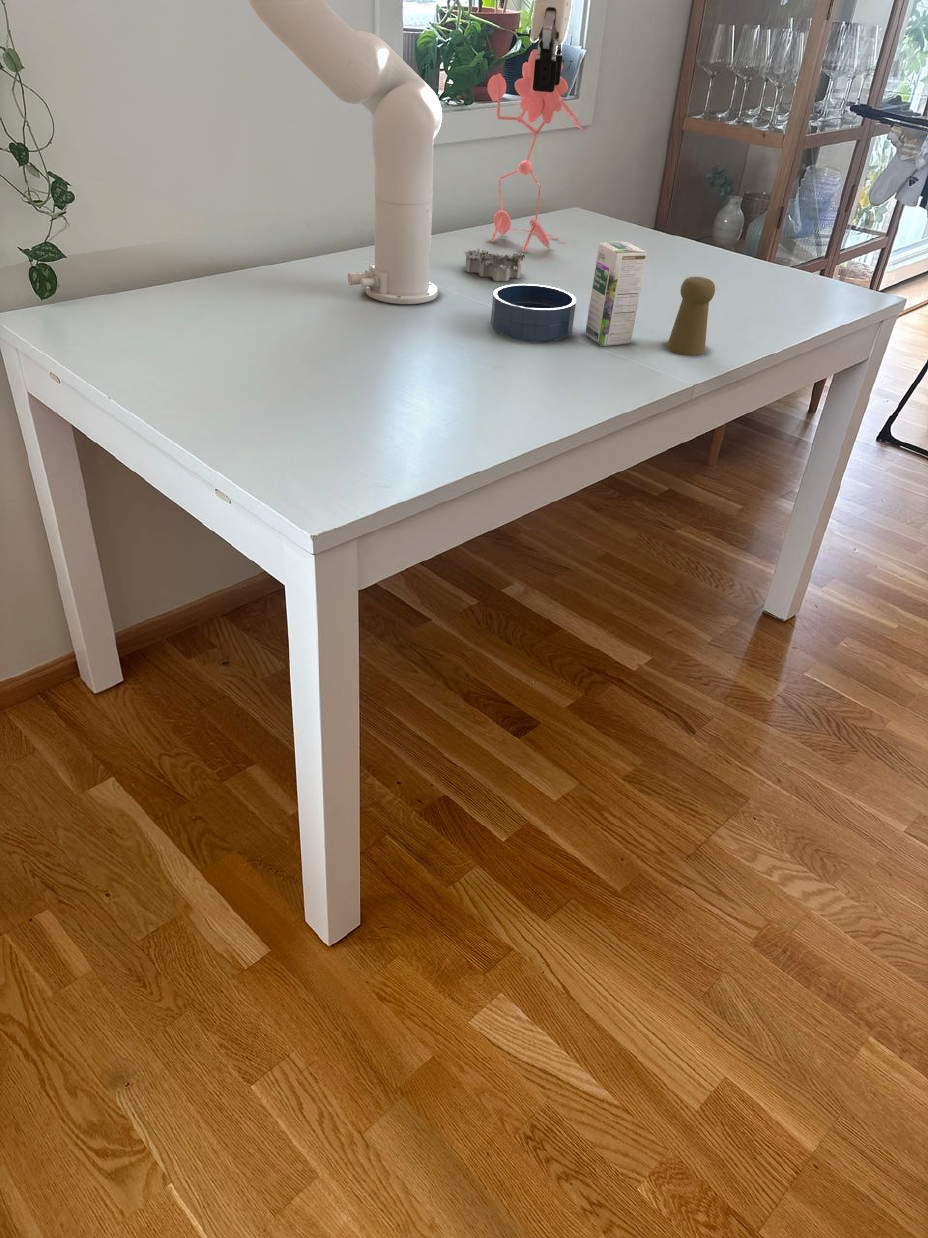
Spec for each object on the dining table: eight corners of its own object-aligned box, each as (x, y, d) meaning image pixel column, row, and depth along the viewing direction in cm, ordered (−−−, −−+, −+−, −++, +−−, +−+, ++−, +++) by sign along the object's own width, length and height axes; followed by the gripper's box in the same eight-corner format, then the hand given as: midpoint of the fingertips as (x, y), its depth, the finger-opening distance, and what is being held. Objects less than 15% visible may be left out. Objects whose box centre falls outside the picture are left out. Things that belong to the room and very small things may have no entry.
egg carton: (526, 277, 177) (528, 255, 175) (498, 283, 173) (500, 260, 170) (485, 263, 183) (487, 241, 181) (458, 269, 179) (459, 246, 176)
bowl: (516, 348, 145) (520, 313, 142) (476, 321, 154) (478, 287, 151) (587, 339, 151) (592, 305, 147) (544, 314, 160) (548, 281, 157)
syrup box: (583, 334, 152) (596, 241, 144) (614, 332, 154) (629, 240, 146) (601, 346, 148) (615, 251, 140) (632, 343, 150) (649, 249, 142)
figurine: (551, 262, 186) (574, 59, 166) (461, 233, 201) (471, 43, 180) (599, 251, 196) (626, 57, 175) (509, 224, 210) (525, 42, 189)
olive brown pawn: (704, 357, 147) (720, 286, 141) (666, 352, 148) (680, 281, 142) (704, 344, 152) (719, 275, 146) (667, 339, 153) (680, 270, 146)
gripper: (539, -51, 141) (528, 79, 151) (527, -53, 127) (515, 91, 137) (589, -47, 140) (574, 83, 150) (582, -48, 126) (566, 96, 136)
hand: (546, 87), depth 143 cm, fingers open, 9 cm apart
